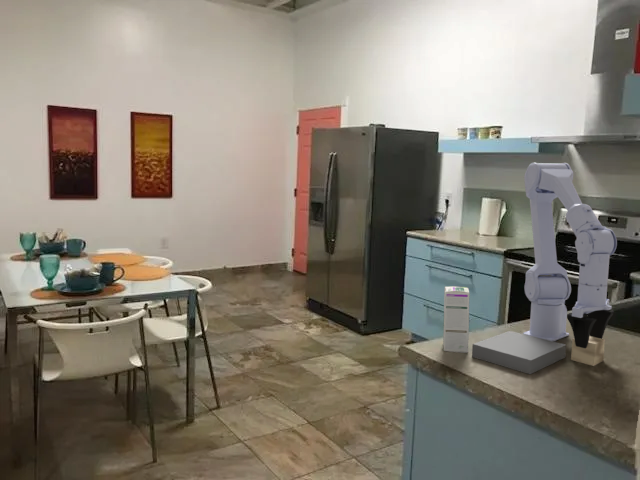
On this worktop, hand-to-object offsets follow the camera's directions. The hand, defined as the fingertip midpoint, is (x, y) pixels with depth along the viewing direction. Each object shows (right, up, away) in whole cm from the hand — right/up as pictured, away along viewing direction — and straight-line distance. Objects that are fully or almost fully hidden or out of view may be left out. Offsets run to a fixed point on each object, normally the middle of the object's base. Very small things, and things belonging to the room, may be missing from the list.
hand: (588, 343), depth 123 cm
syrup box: (-28, -3, +8) cm, 29 cm away
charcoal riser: (-15, -4, +2) cm, 15 cm away
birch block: (0, -4, +1) cm, 4 cm away
